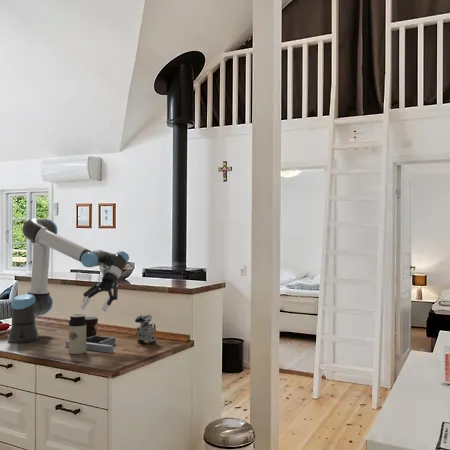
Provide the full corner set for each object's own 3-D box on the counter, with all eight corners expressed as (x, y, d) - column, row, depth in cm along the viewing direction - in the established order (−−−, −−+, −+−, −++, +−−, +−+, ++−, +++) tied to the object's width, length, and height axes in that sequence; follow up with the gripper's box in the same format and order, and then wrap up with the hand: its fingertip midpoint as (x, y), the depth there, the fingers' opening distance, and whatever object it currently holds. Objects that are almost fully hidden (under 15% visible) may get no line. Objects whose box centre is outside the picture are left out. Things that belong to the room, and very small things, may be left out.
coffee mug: (88, 338, 269) (88, 320, 269) (78, 336, 274) (78, 318, 274) (105, 334, 278) (105, 317, 278) (95, 332, 283) (95, 315, 283)
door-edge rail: (65, 346, 250) (65, 340, 250) (68, 345, 252) (68, 340, 252) (110, 352, 238) (110, 346, 238) (113, 351, 240) (113, 345, 240)
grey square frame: (79, 347, 249) (79, 340, 249) (95, 342, 261) (95, 335, 261) (99, 349, 244) (99, 342, 244) (115, 344, 255) (115, 337, 255)
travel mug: (77, 349, 245) (78, 312, 245) (89, 351, 241) (89, 314, 241) (65, 353, 238) (65, 315, 238) (77, 355, 234) (77, 316, 234)
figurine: (129, 345, 254) (129, 315, 254) (144, 340, 264) (145, 312, 264) (143, 347, 249) (143, 317, 249) (158, 343, 259) (158, 314, 259)
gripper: (134, 281, 260) (116, 315, 246) (96, 279, 271) (77, 311, 257) (128, 272, 255) (109, 306, 242) (89, 270, 266) (69, 303, 252)
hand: (92, 309), depth 249 cm, fingers open, 13 cm apart
